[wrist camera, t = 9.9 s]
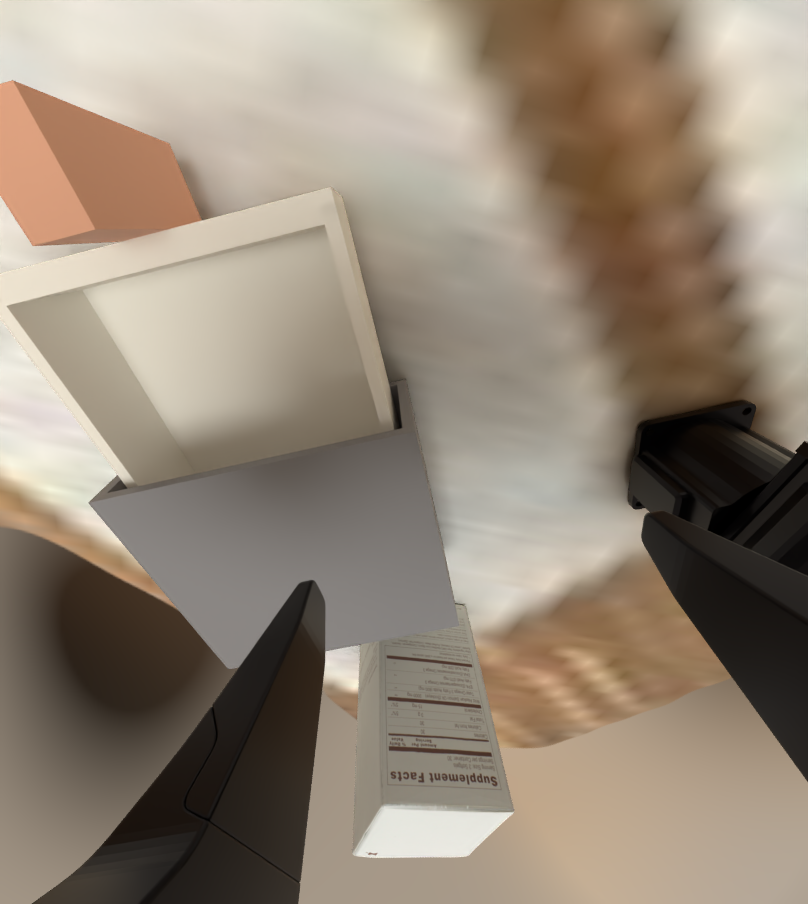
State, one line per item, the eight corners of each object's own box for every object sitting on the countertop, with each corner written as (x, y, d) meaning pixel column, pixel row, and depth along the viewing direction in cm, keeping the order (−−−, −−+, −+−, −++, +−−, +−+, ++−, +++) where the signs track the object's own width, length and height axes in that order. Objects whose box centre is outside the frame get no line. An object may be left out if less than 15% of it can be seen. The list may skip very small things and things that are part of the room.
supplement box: (439, 656, 33) (468, 860, 23) (357, 646, 32) (347, 860, 21) (468, 603, 30) (520, 815, 19) (378, 590, 29) (379, 812, 18)
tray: (321, 113, 14) (267, 5, 7) (405, 451, 22) (418, 553, 15) (20, 196, 15) (-289, 169, 8) (205, 494, 22) (130, 610, 16)
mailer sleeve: (405, 378, 20) (415, 431, 15) (443, 549, 27) (459, 626, 21) (160, 434, 21) (88, 502, 16) (256, 586, 27) (228, 669, 22)
